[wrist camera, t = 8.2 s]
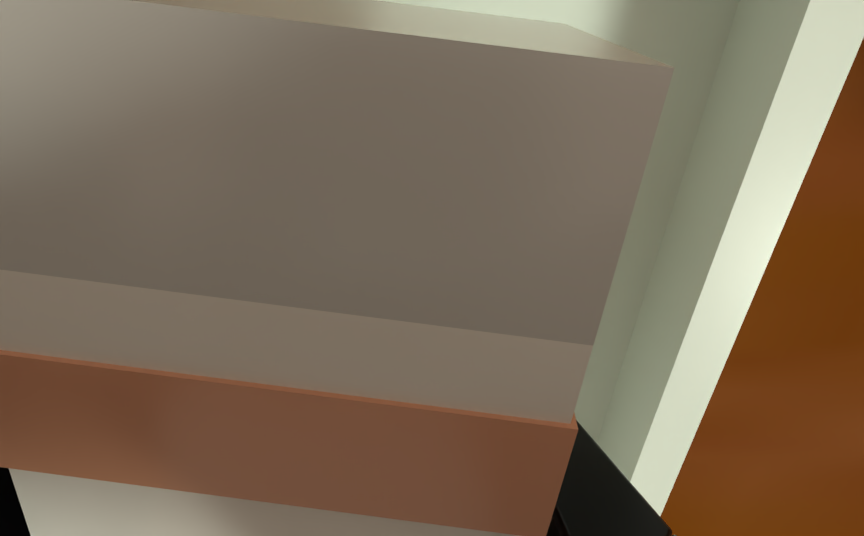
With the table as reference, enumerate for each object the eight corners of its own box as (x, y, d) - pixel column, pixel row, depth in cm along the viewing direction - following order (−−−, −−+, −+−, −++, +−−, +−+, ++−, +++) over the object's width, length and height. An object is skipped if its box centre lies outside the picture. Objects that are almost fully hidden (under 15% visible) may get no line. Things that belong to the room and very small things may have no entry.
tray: (586, 547, 15) (605, 644, 13) (142, 489, 15) (84, 575, 13) (837, -171, 8) (978, -235, 6) (8, -270, 8) (-168, -368, 6)
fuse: (458, 566, 11) (450, 850, 7) (229, 536, 11) (111, 805, 8) (567, 23, 7) (687, 69, 3) (182, -24, 7) (-176, -36, 3)
